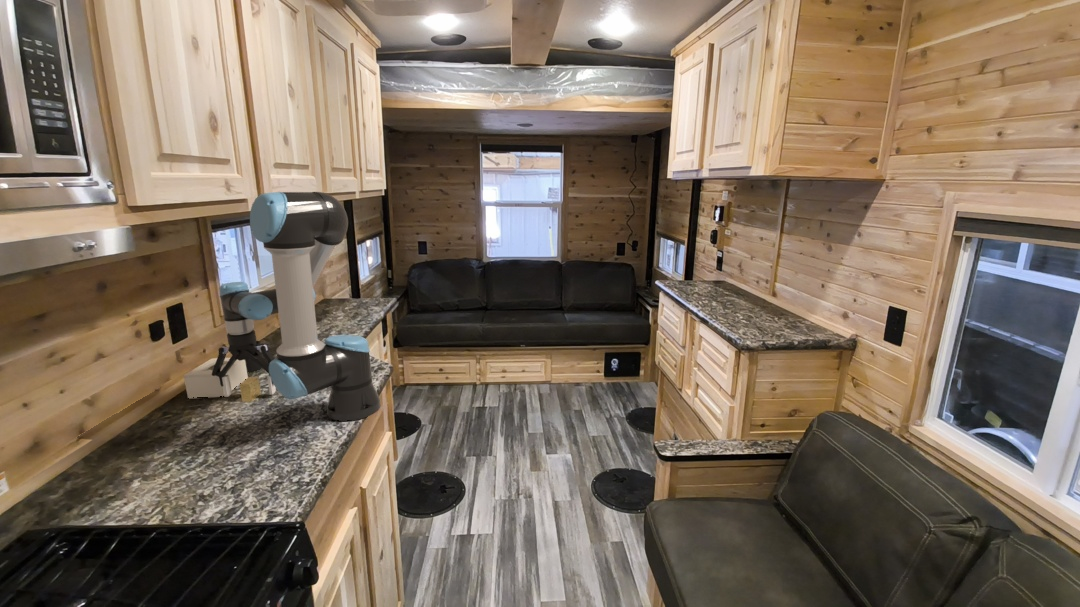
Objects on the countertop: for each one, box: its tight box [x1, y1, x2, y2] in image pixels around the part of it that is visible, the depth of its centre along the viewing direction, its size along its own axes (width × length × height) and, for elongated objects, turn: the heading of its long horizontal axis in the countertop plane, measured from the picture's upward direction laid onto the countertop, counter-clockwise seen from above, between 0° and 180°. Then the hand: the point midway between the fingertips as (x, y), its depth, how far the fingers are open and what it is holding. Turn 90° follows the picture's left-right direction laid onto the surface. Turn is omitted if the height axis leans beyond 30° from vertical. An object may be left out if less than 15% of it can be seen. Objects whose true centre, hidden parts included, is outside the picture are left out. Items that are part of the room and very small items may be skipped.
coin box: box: [183, 357, 249, 399], centre depth 161 cm, size 16×11×8 cm
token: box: [238, 376, 262, 403], centre depth 153 cm, size 6×3×6 cm, turn 6°
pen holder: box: [245, 340, 263, 374], centre depth 177 cm, size 9×9×10 cm
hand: (251, 394), depth 153 cm, fingers open, 13 cm apart
